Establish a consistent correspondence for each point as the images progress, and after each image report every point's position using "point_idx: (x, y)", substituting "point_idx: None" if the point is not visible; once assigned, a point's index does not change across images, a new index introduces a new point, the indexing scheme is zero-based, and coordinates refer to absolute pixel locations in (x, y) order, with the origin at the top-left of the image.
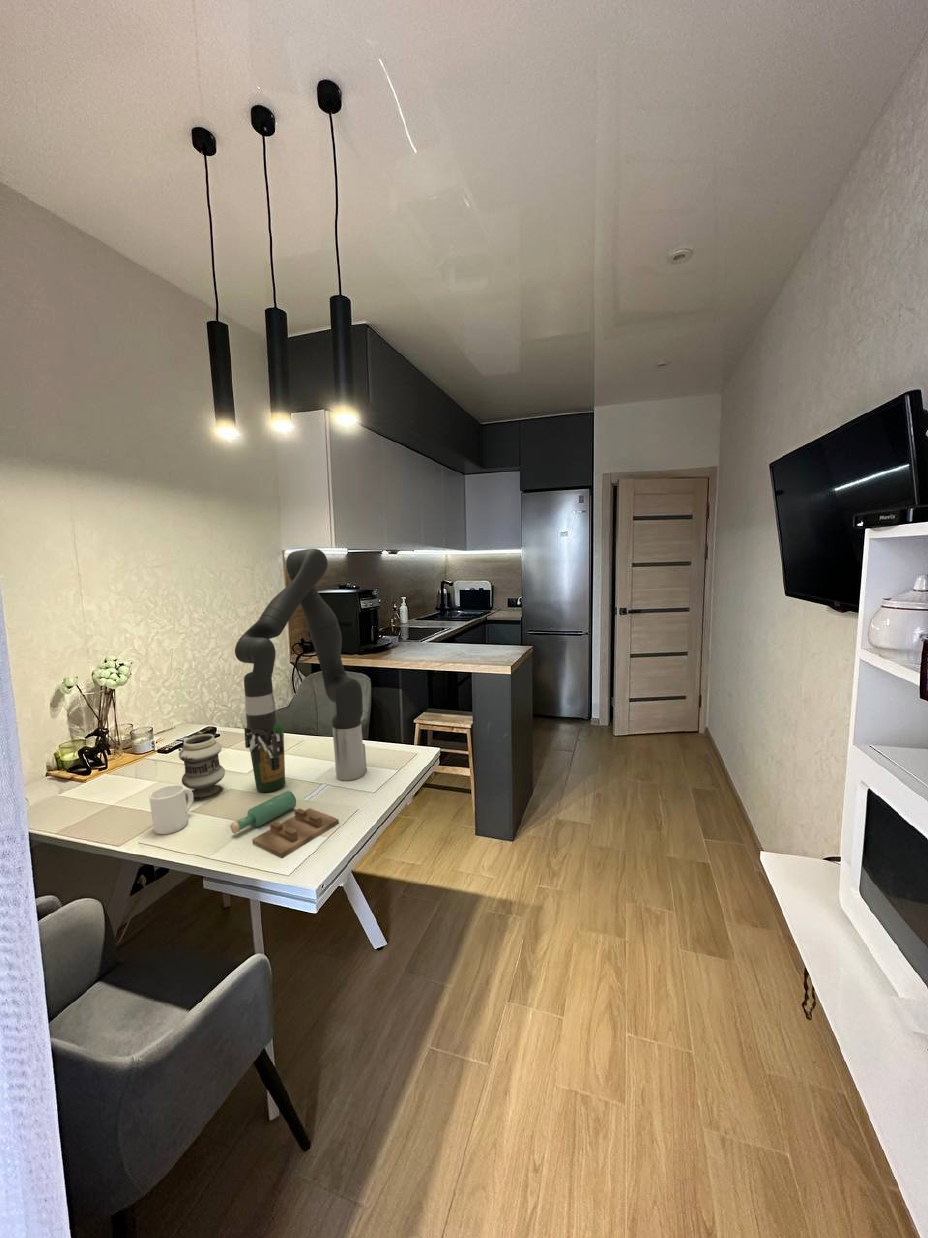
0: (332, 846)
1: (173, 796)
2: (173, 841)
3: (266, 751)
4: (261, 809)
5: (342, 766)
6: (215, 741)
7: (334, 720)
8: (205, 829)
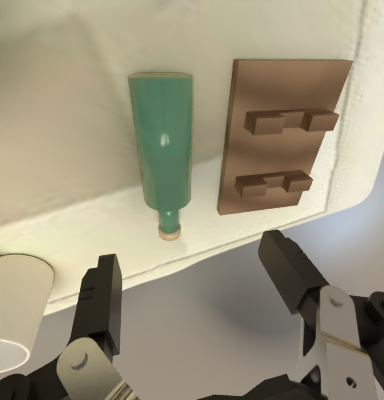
0: (361, 134)
1: (29, 348)
2: None
3: (297, 366)
4: (184, 193)
5: None
6: None
7: None
8: (88, 240)
